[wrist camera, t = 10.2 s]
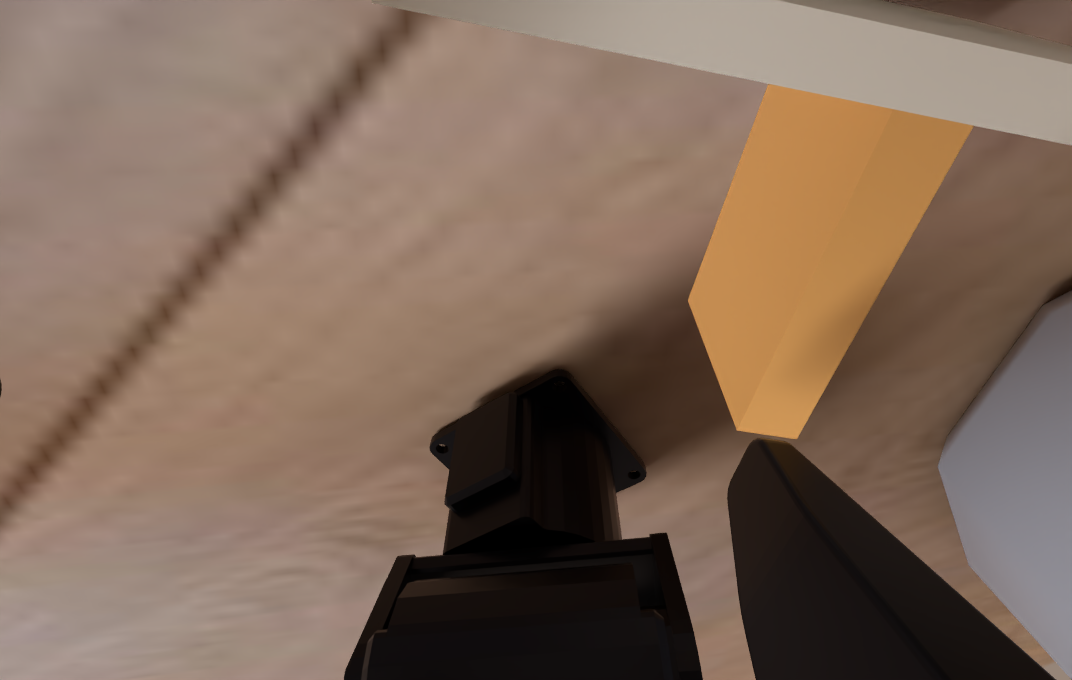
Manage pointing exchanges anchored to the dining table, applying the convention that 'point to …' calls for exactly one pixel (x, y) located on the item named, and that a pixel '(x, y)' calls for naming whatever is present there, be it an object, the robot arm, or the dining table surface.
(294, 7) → the dining table surface
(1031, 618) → the bottle
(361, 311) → the dining table surface
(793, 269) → the white drawer unit
